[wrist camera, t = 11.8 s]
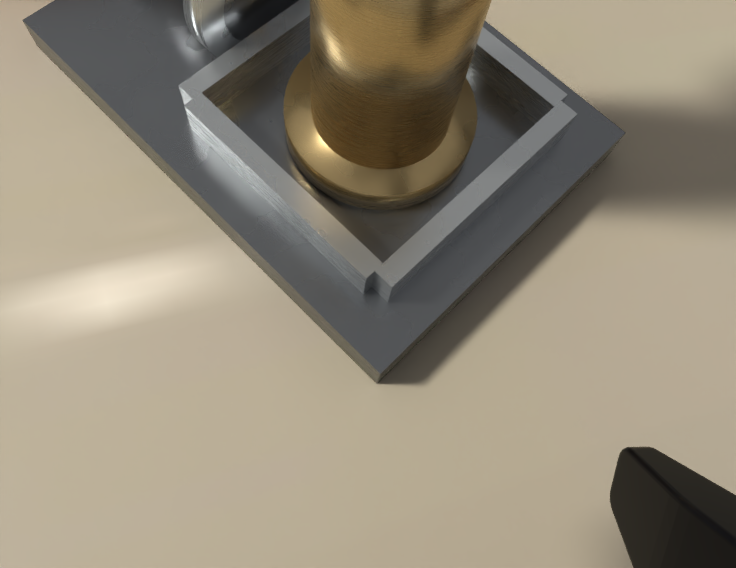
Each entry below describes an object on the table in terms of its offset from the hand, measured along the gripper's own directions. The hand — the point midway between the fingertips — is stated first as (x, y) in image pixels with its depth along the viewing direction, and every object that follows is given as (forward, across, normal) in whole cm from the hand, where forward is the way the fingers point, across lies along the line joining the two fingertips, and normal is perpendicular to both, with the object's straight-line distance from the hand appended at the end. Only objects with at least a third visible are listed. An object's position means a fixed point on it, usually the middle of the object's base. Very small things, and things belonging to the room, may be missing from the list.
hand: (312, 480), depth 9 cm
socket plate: (+21, -1, -2) cm, 21 cm away
